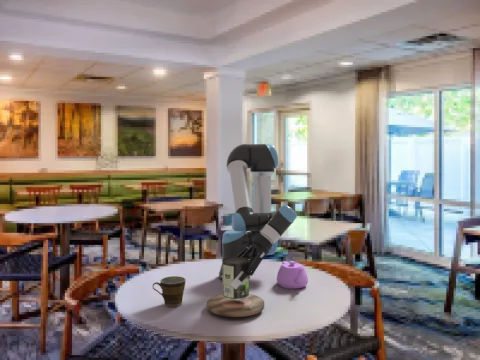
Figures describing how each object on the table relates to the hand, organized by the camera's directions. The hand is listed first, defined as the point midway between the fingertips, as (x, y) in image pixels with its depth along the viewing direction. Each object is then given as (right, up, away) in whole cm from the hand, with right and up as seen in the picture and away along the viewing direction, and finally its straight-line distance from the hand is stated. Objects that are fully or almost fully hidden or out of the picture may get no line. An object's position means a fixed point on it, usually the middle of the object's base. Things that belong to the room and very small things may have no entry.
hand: (228, 282), depth 155 cm
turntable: (+3, -11, +2) cm, 11 cm away
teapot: (+29, -9, +31) cm, 43 cm away
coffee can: (+3, -6, +1) cm, 6 cm away
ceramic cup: (-24, -11, +7) cm, 27 cm away
